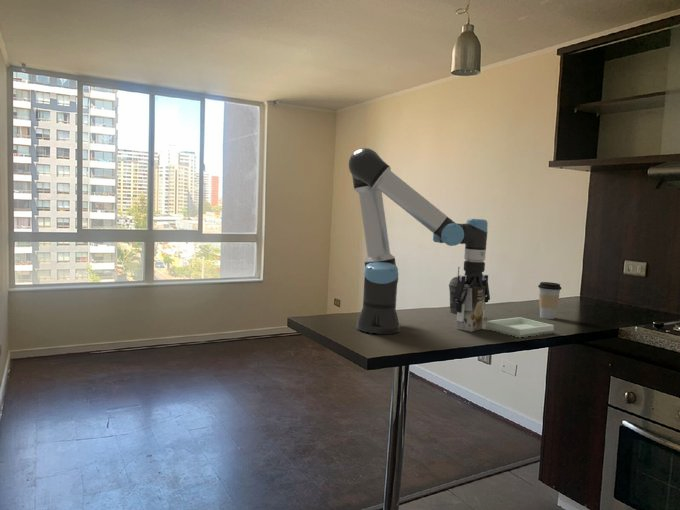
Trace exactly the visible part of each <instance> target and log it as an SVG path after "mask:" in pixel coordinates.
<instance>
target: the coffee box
mask: <svg viewBox="0 0 680 510" xmlns="http://www.w3.org/2000/svg"><path fill="white" fill-rule="evenodd" d="M467 288H468V289H467ZM485 288H486V287H484V286H482V287H479V286H472V287H464V289H463V290H465V289H467V296H466V298H465V300H464V302H463V304H465V308H464V322H460V321H457V320H456V329H457V330H461V331H466V332H471V333H472V332H475V331H478V330H482V329H483V324H484V323H483V322H484V320H483V313H484V314H485V310H484V300H485Z"/></svg>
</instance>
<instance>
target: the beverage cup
mask: <svg viewBox="0 0 680 510" xmlns="http://www.w3.org/2000/svg"><path fill="white" fill-rule="evenodd" d="M459 275H460V266H458V267H457V276H454V277H453V278H451V279H450V281H449V284H448V288H449V289H448V290H449V312H450V313H451V314H456V315H457V311H456V310H457V303H455V302H453V297H454V294H455V290H456V287H457V283H458V276H459ZM456 299H457V298H456Z"/></svg>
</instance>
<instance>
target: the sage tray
mask: <svg viewBox="0 0 680 510" xmlns="http://www.w3.org/2000/svg"><path fill="white" fill-rule="evenodd" d="M485 330H489V331H491V330H492V332H495V331H496V332H495V333H499V332H500V333H499V334H502V333H503V335H506V334H508V335H507V336H510V335H512V336H511V337H513V336H515V337H514V338H517V337H519V338H518V339H522V338H521V337H524V338H529V337H528V336H531V337H536V335H537V336H543V334H544V335H551V334H554V330H555V325H554V324H551V323H545V322H543V321H542V322H541V321H537V320H533V319H529V318H526V317H521V316H518V317H510V318H502V319H493V320H492V319H491V320H486V321H485Z"/></svg>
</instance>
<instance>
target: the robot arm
mask: <svg viewBox="0 0 680 510" xmlns="http://www.w3.org/2000/svg"><path fill="white" fill-rule="evenodd" d="M348 169H349V172H350V174H351V178H352V182H353V190H354V191H355V192H356V193H358V197H359V203H360V204H359V205H360V213H361V218H362V219H361V220H362V227H363V233H364V239H365V247H366V255H367V257H366V259H364V268H365V269H364V272H363V275H364V282H363V300H362V308H361V310H360V314H359V317H358V320H357V321H356V329H357V330H358V329H359V330H358V331H360V330H361V331H360V332H362V331H364V332H363V333H366V332H369V333H368V334H372V333H377V334H376V335H393V333H394V334H397V332H398V333H399V332H400V326H401V325H400V321H399V317H398V314H397V308H396V307H397V292H398V283H399V268H398V266H397V265H396V258H395V256H394V255H393V254H391V251H390V244H389V243H390V241H389V235H388V227H387V220H386V219H387V218H386V214H385V213H386V212H385V206H384V199H383V195H385V196H386V197H387V198H389V199H390V200H391V201H392V202H393V203H395V204H396V205H397V206H399V207H400V208H402V209H403V210H404V212H406V213H407V214H409V215H410V216H412V218H414V219H415V220H416V221H417V222H419V223H420V224H421V225H422V226H424V227H425V228H427V229H428V230H429V231H430V232H431V233H432V240H433V242H434V243H439V244H446V245H447V246H449V247H452V246H453V247H454V246H458V245H459V244H460V245H464V246H465V247H464V255H463V259H464V261H463V271H464V275H460V274H459V276H458V275H457V277H458V283H457V287H456V290H455V294H454V297H453V302H455V303H457V310H456V311H457V314H456V322H457V321H460V322H464V308H465V304H463V302H464V300H465V298H466V296H467V289H468V288H467V289H465V290H463V289H464V287H472V286H479V287H482V286H484V287H486V288H485V300H484V311H485V310H486V303H488V302H489V300H490V299H491V296H490V287H489V275H488V274H484V272H485V268H486V262H485V261H486V250H487V241H488V232H489V231H488V227H489V226H488V220H486V219H482V218H467V220H466V223H456V222H455V221H454V220H452V219H451V217H449V216H448V215H446V213H444V212H443V211H441V210H440V209H439V208H437V207H436V206H435V205H434V204H433V203H431V202H430V201H429V200H428V199H426V198H425V197H424V196H423V195H421V194H420V193H419V192H418V191H416V189H414V188H413V187H412V186H410V185H409V184H408V183H407V182H406V181H404V180H402V178H400V176H398V175H397V174H395V173H394V172H393V171H392V169H391V166H390V165H389V164H388V163H386V162H385V161H384V159H382V158H381V157H380V156H379V154H378V153H377V152H376V151H375V150H374V149H371V148H367V147H362V148H360V149H357V150H355V151H354V152H353V153H352V154H351V155H350V158H349V160H348ZM456 298H457V299H456ZM484 318H485V312H484V313H483V321H484Z"/></svg>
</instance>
